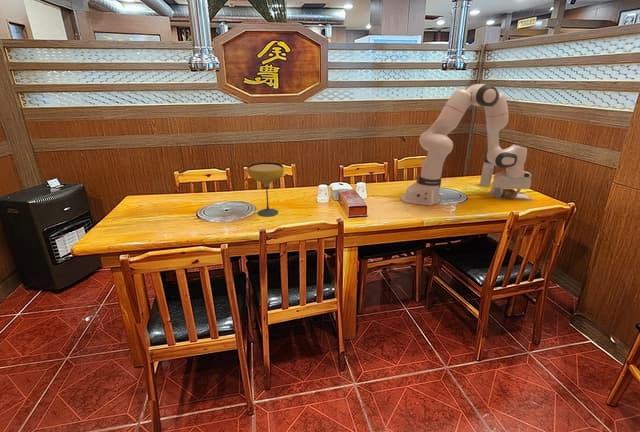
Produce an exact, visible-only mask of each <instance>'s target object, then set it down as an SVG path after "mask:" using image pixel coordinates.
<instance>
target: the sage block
mask: <svg viewBox="0 0 640 432" xmlns="http://www.w3.org/2000/svg"><path fill="white" fill-rule="evenodd" d="M490 191H491V192H492V193H493V194H500V193H501V191H500V189H499V188H494V187H493V186H492V185H491V188H490ZM491 192H490V193H491ZM492 193H491V194H492ZM493 194H492V195H493Z"/></svg>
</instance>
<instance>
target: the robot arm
mask: <svg viewBox="0 0 640 432" xmlns="http://www.w3.org/2000/svg"><path fill="white" fill-rule="evenodd" d="M471 105H472V106H475V107H483V108H484V113H485V123H486V149H485V153H484V157H485V158H484V160H485V159H486V161H487V162H488V163H491V164H493V165H494V167H498V168H501V169H504V168H505V172H504V171H497V172H495V173H494V174H493V180H492V183H491V187H492V186H493V187H494V188H499V189H500V191H501V193H500V195H504V192H503V191H502V190H503V189H514V190H515V191H516V192H517V194H518V193H519V192H520V191H521V190H529V189H531V185H532V173H530V172H529V171H526V170H525V163H526V160H527V157H528V148H527V146H525V145H521V144H520V143H519V144H518V143H513V144H512V145H511V146H509V147H507V148H504V149H503V148H502V147H501V146H500V136H499V135H500V131H501V130H502V129H504V128H505V127H506V126H507V125H508V123H509V118H510V117H509V107H508V102H507V98H506V96H505V94H504V93H503V92H501V91H499V92H498V90H497V88H496V87H495V86H494V85H492V84H485V83H474V84H470V85H468V86H467V87H465V88H458V89H456V90H455V91H454V92H453V93H452V94H451V96H449V98H448V100H447V101H446V103H445V104H444V107H443V108H442V110H441V112H440V113H439V114H438V117H437V118H436V120H435V121H434V122H433V124H431V125H430V127H429V128H428V129H427V130H426V131H424V132H423V133H421V134H420V136H419V139H418V140H419V141H418V142H419V145H420V146H421V148H422V149H423V150H425V151H427V156H426V158H425V160H423V161H422V164H421V170H420V171H421V172H420V175H418V174H416V175H415V176H414V177H415V179H416V182H414V183H412V184H411V185H409V186H407V188H406V189H405V192H404V193H402V194H401V195H400V200H401V202H403V203H405V204H413V205H421V206H430V207H431V206H433V205H436V204H440V203H441V199H440V198H441V197H440V196H441V195H440V188H441V186H442V174H443V173H442V172H443V166H444V162H445V161H446V158H447V156H448V155H449V154H451V153H452V150H453V148H454V142H453V140H452V139H450V137H449V136H448V135H449V134H450V133H451V132H452V131H453V130H455V129H456V128H457V127H458V125H459V123H461V120H462V118H463V116H464V115H465V113H466V112H467V110H468V108H469V107H470V106H471ZM516 196H517V195H516Z"/></svg>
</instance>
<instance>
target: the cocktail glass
mask: <svg viewBox="0 0 640 432" xmlns="http://www.w3.org/2000/svg"><path fill="white" fill-rule="evenodd" d="M284 172H285V171H284V166H283V164H280V163H276V162H258V163H253V164H251V165H248V167H247V175H248V176H249V177H250V178H251V179H252V180H254V181H257V182H260V183H261V184H263V186H265V192H266V193H265V194H266V208H263V209H260V210H258V211H257V215H258V216H261V217H265V218H266V217H269V218H270V217H274V216H276V215H278V214H279V210H278V209H276V208H270V207H269V205H270V204H269V194H268V187H269V185H270V184H271V183H273V182H274V181H277V180H278V179H280V178H281V177H282V176H283V175H284Z"/></svg>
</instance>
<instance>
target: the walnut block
mask: <svg viewBox="0 0 640 432" xmlns="http://www.w3.org/2000/svg"><path fill="white" fill-rule="evenodd" d="M502 191H503V192H504V195H501V196H502V197H503V198H504V199H503V200H508V199H516V195H517V192H516V191H517V190H516V189H512V188H503V190H502Z"/></svg>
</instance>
